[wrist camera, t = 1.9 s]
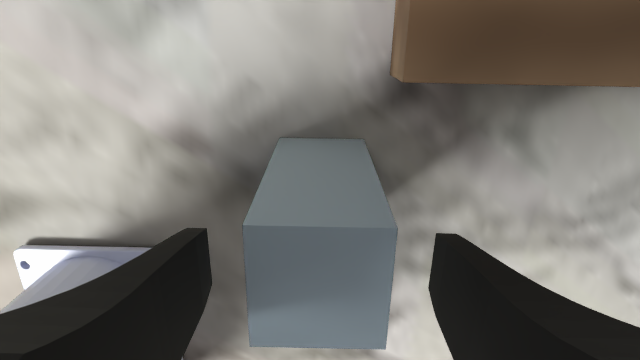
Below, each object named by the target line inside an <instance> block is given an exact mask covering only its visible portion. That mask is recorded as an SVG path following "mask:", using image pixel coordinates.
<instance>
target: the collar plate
mask: <svg viewBox="0 0 640 360" xmlns="http://www.w3.org/2000/svg"><path fill="white" fill-rule="evenodd" d="M390 75H391V76H393V77H395V78H396V79H398V80H400V81H401V82H405V83H458V84H512V85H565V86H619V87H640V0H396V5H395V17H394V30H393V43H392V55H391V68H390Z"/></svg>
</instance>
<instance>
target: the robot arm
mask: <svg viewBox="0 0 640 360" xmlns="http://www.w3.org/2000/svg"><path fill="white" fill-rule="evenodd" d="M14 259H15V262H16V265H17V268H18V272H19V275H20V278H21V281H22V285H23V288H24V291H23V292H22V293H21V294H20V295H18V296H17V297H16V298H15V299H14V300H13V301H11V302H10V303H9V304H8V305H7V306H6V307H4V308H3V309H2V310H1V311H0V360H183V355H184V353H185V350H186V348H187V346H188V344H189V342H190V340H191V338H192V336H193V333H194V331H195V329H196V327H197V325H198V323H199V320H200V318H201V316H202V314H203V311H204V309H205V305H206V302H207V299H208V296H209V292H210V289H211V285H212V277H211V267H210V257H209V247H208V237H207V228H186V229H184V230H182V231H180V232H178V233H177V234H175V235H173V236H171V237H170V238H168V239H166V240H165V241H163V242H161V243H160V244H158V245H156V246H155V247H153V248H146V247H96V246H46V245H22V246H20V247H19V248H17V249H16V250H15V251H14ZM26 261H27V262H28V263H29V264H30V265H29V264H28V263H26ZM429 292H430V296H431V301H432V304H433V308H434V312H435V315H436V318H437V321H438V323H439V326H440V328H441V330H442V333H443V335H444V338H445V340H446V343H447V345H448V347H449V350H450V352H451V354H452V357H453V359H454V360H640V328H639V327H636V326H634V325H631V324H628V323H625V322H622V321H620V320H617V319H614V318H612V317H609V316H607V315H604V314H602V313H599V312H597V311H594V310H592V309H589V308H587V307H585V306H582V305H580V304H578V303H576V302H573V301H571V300H569V299H567V298H565V297H563V296H561V295H559V294H557V293H555V292H553V291H551V290H549V289H547V288H545V287H543V286H541V285H539V284H537V283H535V282H534V281H532V280H530V279H528V278H527V277H525V276H523V275H521V274H520V273H518V272H516V271H515V270H513V269H511V268H510V267H508V266H506V265H505V264H503V263H502V262H500V261H499V260H497V259H495V258H494V257H492V256H491V255H489V254H488V253H486V252H485V251H483V250H482V249H480V248H479V247H477V246H476V245H474V244H473V243H471V242H469V241H468V240H466V239H465V238H463V237H461V236H459V235H457V234H443V233H436V238H435V245H434V252H433V260H432V267H431V274H430V281H429Z"/></svg>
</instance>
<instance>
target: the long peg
mask: <svg viewBox="0 0 640 360" xmlns="http://www.w3.org/2000/svg"><path fill="white" fill-rule="evenodd" d="M242 228H243V244H244V261H245V277H246V294H247V310H248V327H249V343H250V347H293V348H342V349H386V341H387V331H388V321H389V311H390V301H391V291H392V281H393V271H394V261H395V251H396V241H397V231H398V228H397V225H396V222H395V220H394V217H393V214H392V212H391V209H390V207H389V204H388V201H387V199H386V196H385V194H384V191H383V188H382V186H381V183H380V180H379V178H378V175H377V173H376V170H375V167H374V165H373V162H372V160H371V157H370V154H369V152H368V149H367V147H366V144H365V141H364V139H329V138H279V141H278V143H277V145H276V148H275V150H274V152H273V155H272V157H271V159H270V162H269V164H268V166H267V169H266V171H265V173H264V176H263V178H262V180H261V183H260V185H259V187H258V190H257V192H256V194H255V197H254V199H253V201H252V204H251V206H250V208H249V211H248V213H247V215H246V218H245V220H244V222H243V225H242Z"/></svg>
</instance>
